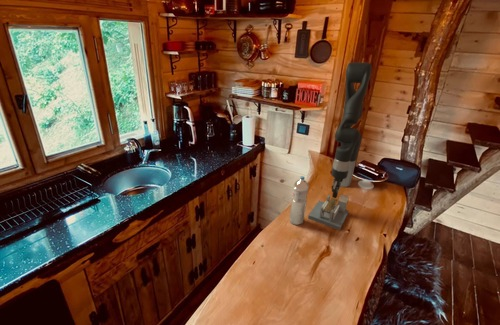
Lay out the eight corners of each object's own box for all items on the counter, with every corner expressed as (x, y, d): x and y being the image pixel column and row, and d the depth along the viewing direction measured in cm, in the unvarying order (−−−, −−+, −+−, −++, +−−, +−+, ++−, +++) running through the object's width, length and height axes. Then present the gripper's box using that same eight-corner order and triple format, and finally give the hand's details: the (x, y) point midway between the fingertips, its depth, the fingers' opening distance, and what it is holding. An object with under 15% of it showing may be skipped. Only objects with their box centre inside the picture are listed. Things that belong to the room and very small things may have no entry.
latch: (340, 198, 141) (341, 193, 140) (347, 200, 140) (349, 195, 138) (338, 200, 139) (339, 195, 138) (346, 203, 137) (347, 198, 136)
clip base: (318, 203, 150) (320, 191, 147) (348, 213, 143) (351, 200, 139) (307, 218, 138) (310, 205, 134) (339, 230, 130) (342, 216, 127)
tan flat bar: (331, 199, 144) (331, 197, 143) (337, 201, 142) (337, 199, 142) (323, 211, 133) (323, 210, 133) (329, 213, 132) (329, 212, 131)
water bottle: (292, 215, 140) (298, 172, 129) (305, 220, 136) (312, 176, 125) (287, 222, 134) (292, 178, 123) (300, 227, 131) (307, 182, 120)
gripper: (336, 160, 139) (331, 189, 147) (329, 170, 129) (323, 200, 137) (351, 164, 136) (345, 193, 144) (345, 174, 126) (338, 205, 134)
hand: (334, 197), depth 140 cm, fingers closed
